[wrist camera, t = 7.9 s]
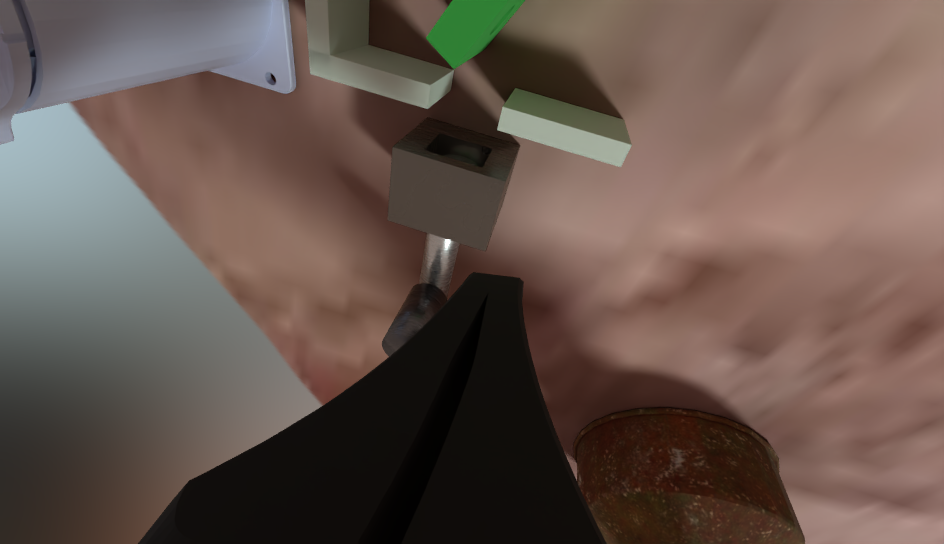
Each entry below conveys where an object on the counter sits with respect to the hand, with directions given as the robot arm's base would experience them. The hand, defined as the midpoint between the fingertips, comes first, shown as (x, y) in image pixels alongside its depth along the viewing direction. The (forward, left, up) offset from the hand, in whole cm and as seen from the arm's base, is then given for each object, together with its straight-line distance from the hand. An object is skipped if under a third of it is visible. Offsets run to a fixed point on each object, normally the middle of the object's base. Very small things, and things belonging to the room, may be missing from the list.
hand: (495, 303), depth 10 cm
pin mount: (-3, -1, -9) cm, 9 cm away
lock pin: (-3, -4, -8) cm, 9 cm away
